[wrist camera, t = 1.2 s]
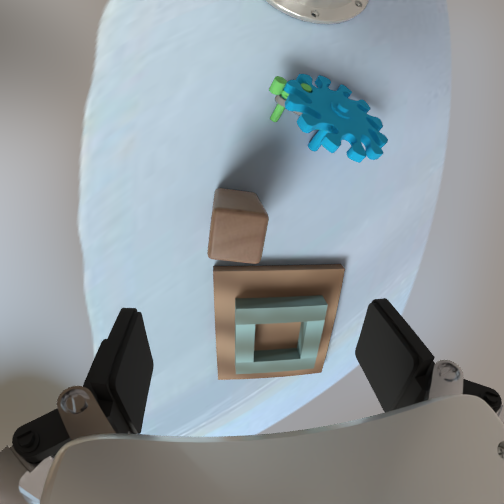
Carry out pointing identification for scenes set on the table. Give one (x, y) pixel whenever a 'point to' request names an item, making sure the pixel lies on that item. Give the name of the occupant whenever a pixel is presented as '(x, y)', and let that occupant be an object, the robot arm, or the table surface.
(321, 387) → the table surface
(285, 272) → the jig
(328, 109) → the gear
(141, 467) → the robot arm
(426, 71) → the table surface
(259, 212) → the wooden block
